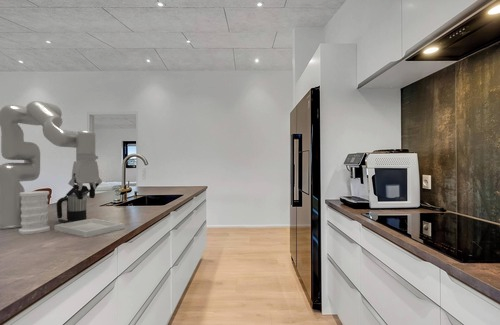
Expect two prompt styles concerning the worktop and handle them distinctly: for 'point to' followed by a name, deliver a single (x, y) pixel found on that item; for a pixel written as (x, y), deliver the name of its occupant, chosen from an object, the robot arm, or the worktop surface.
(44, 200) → the decorative container
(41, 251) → the worktop surface
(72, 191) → the power plug
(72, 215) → the milk frother
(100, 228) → the tray
